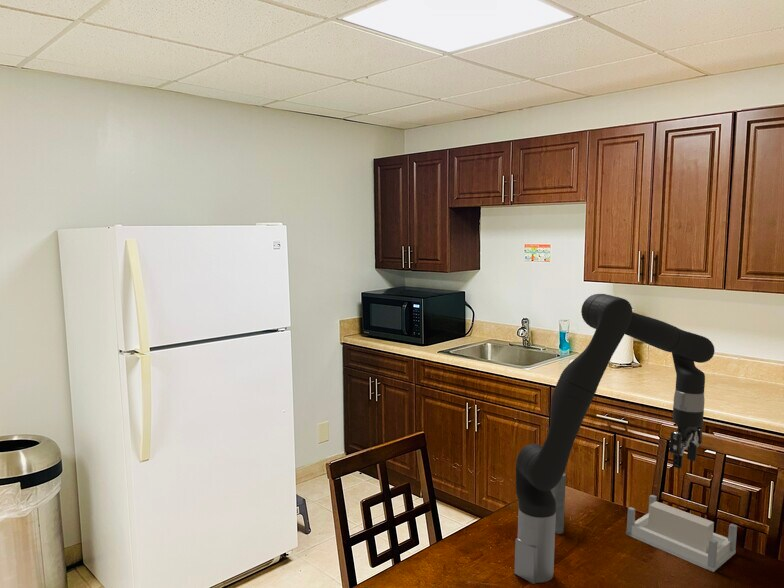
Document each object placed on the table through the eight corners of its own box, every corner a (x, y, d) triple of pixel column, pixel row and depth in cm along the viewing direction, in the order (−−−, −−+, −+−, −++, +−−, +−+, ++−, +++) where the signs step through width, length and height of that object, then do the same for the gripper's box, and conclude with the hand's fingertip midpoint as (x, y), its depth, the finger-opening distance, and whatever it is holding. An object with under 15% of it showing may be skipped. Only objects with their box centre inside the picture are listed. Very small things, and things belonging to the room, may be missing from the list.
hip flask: (565, 533, 172) (567, 467, 169) (551, 533, 172) (553, 467, 169) (549, 507, 187) (551, 447, 185) (536, 507, 187) (538, 447, 185)
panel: (705, 555, 159) (707, 526, 158) (647, 531, 171) (649, 505, 170) (712, 549, 161) (713, 522, 161) (654, 527, 174) (656, 501, 173)
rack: (713, 572, 153) (715, 543, 152) (626, 534, 171) (627, 508, 170) (735, 553, 162) (737, 525, 161) (650, 519, 180) (651, 494, 179)
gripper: (690, 415, 154) (686, 474, 156) (714, 405, 163) (709, 461, 165) (662, 408, 160) (658, 465, 162) (686, 399, 169) (682, 453, 171)
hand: (684, 463), depth 164 cm, fingers open, 8 cm apart
